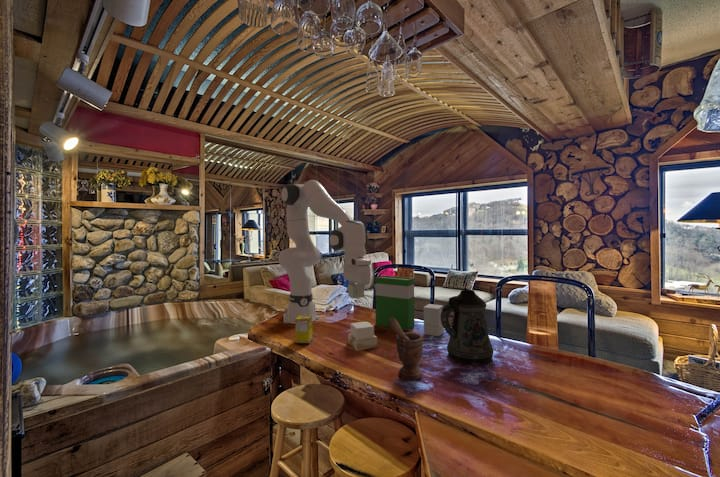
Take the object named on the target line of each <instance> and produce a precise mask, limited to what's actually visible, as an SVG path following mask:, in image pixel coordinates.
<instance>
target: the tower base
mask: <svg viewBox="0 0 720 477" xmlns="http://www.w3.org/2000/svg"><path fill="white" fill-rule="evenodd" d="M347 339H348V341H347V342H348V344H349V345H350V346H351V347H352V348H353V349H354V350H356V351H363V350H368V349H374V348H377V347H378V336H376V335H375V334H374V337H373V338H365V339H358V340H357V339H356V338H355V337H354V336H352V335H351V332H349V333H348V335H347Z"/></svg>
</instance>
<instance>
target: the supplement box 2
mask: <svg viewBox="0 0 720 477" xmlns="http://www.w3.org/2000/svg"><path fill="white" fill-rule="evenodd" d="M443 307H444V305H441V304H432V303H428V304H426V305H425V306H423V334H424V335H428V336H435V337H440V336H441V335H442V334H444V332H445V329H444V328H443V326H442V323H441V318H440V316H441V312H442V309H443Z"/></svg>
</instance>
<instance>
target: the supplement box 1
mask: <svg viewBox="0 0 720 477" xmlns="http://www.w3.org/2000/svg"><path fill="white" fill-rule="evenodd" d="M294 325H295V326H294V332H295V333H294V335H295V345H310V344H311V343H312V341H313V322H312V316H309V315H299V316H298V317H297V318H296V319H295V324H294Z"/></svg>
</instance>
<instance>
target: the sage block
mask: <svg viewBox="0 0 720 477" xmlns="http://www.w3.org/2000/svg"><path fill="white" fill-rule="evenodd" d="M357 288H358V286H357V283H354V284H349V283H348V284H347V296H348V297H349V298H351V299H360V298H365V285H363V288H362V294H357Z"/></svg>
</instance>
